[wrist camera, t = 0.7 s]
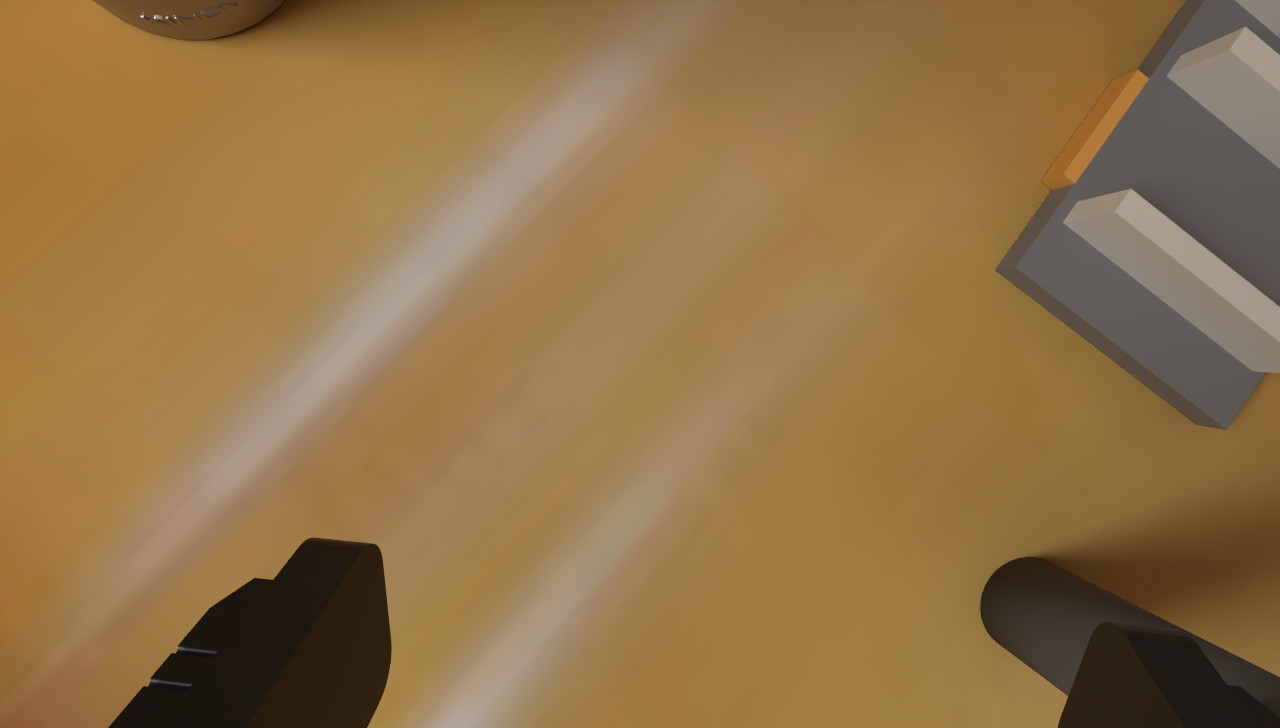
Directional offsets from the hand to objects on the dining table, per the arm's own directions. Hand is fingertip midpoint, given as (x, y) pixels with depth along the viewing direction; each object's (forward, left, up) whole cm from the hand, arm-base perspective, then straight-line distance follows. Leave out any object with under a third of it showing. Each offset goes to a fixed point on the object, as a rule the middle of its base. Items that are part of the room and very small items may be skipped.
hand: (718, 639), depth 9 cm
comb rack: (-3, +29, -22) cm, 37 cm away
